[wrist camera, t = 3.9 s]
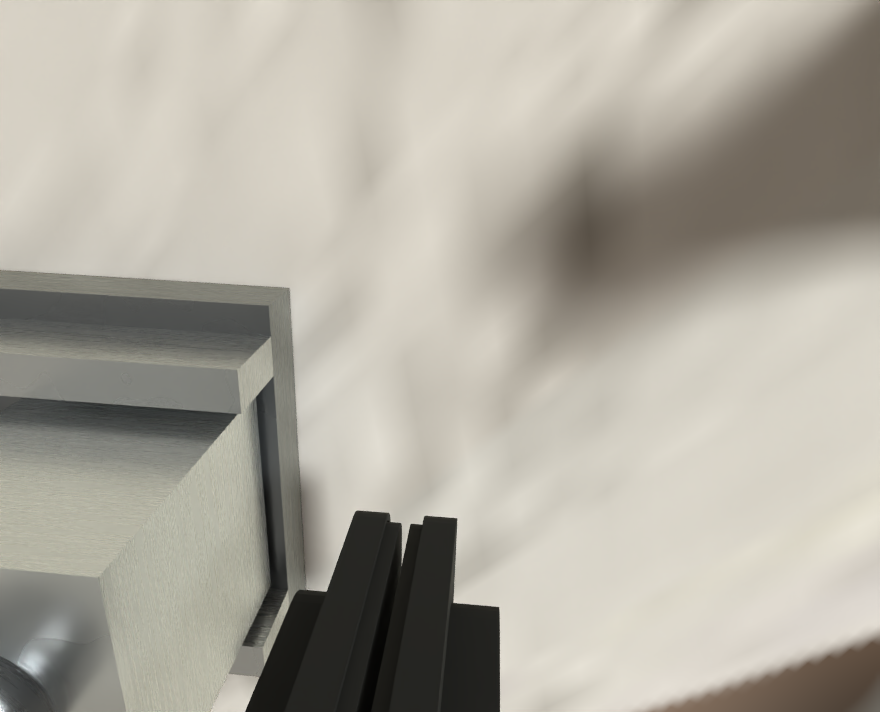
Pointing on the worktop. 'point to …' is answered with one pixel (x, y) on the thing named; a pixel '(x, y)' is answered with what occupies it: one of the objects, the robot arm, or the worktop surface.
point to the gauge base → (171, 381)
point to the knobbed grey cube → (126, 554)
